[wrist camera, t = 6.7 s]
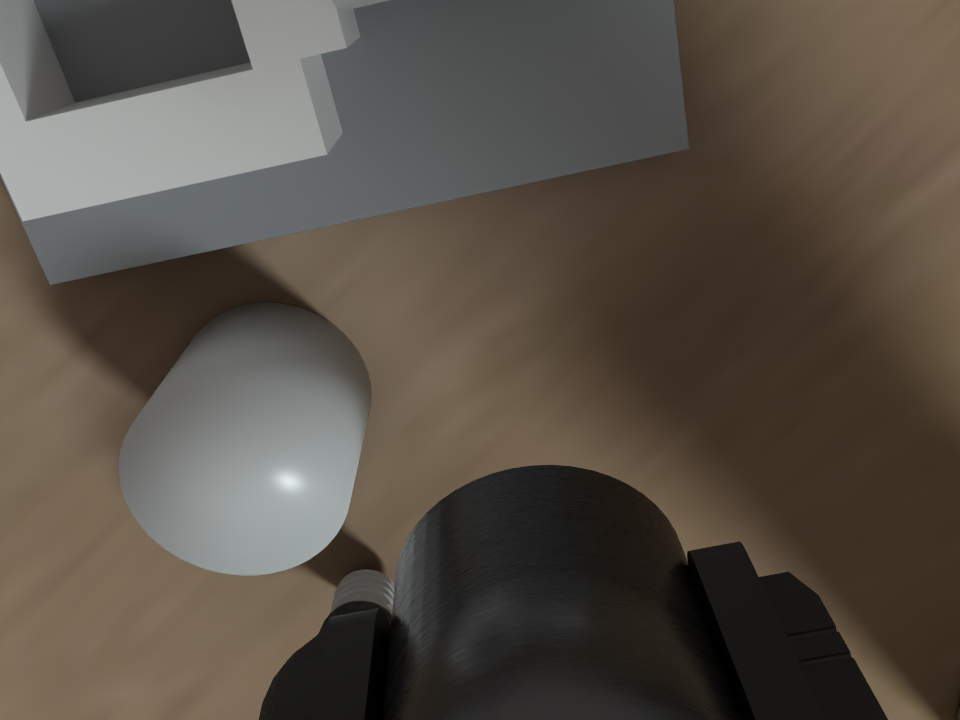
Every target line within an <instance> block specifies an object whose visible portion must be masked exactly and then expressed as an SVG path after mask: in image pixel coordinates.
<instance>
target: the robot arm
mask: <svg viewBox="0 0 960 720" xmlns="http://www.w3.org/2000/svg"><path fill="white" fill-rule="evenodd" d="M687 559H688V566H689V569H690V571H691V574H692V577H693V579H694V582H695V585H696V587H697V590H698V593H699V595H700V598H701V601H702V603H703V606H704V609H705V611H706V614H707V617H708V619H709V622H710V624H711V627H712V630H713V632H714V635H715V638H716V640H717V643H718V646H719V648H720V651H721V654H722V656H723V659H724V662H725V664H726V667H727V670H728V672H729V675H730V677H731V680H732V683H733V685H734V688H735V691H736V693H737V696H738V699H739V701H740V704H741V707H742V709H743V712H744V715H745V717H746V720H888V719H887V717H886V715H885V713H884V712H883V710H882V708H881V706H880V704H879V703H878V701H877V699H876V697H875V696H874V694H873V692H872V690H871V688H870V687H869V685H868V683H867V681H866V679H865V678H864V676H863V674H862V672H861V670H860V669H859V667H858V665H857V663H856V661H855V660H854V658H852V657H851V655H850V651H849V649H848V647H847V645H846V644H845V642H844V640H843V638H842V636H841V635H840V633H839V632H837V630H836V626H835V624H834V622H833V620H832V618H831V617H830V615H829V613H828V611H827V610H826V608H825V606H824V604H823V602H822V601H821V599H820V597H819V595H817V594H816V593H815V592H814V591H812V590H811V589H810V588H809V587H807V586H806V585H805V584H803V583H802V582H801V581H800V580H798V579H797V578H796V577H794V576H793V575H792V574H791V573H789V572H785V573H779V574H774V575H768V576H763V577H758V575H757V573H756V571H755V569H754V567H753V565H752V562H751V560H750V558H749V556H748V554H747V552H746V550H745V548H744V546H743V545H742V543H741V542H734V543H729V544H723V545H718V546H713V547H707V548H702V549H697V550H691V551H688V553H687ZM390 630H391V627H390V625H389V622H388V619H387V616H386V614H385V612H384V611H383V609H382V608H377V609H371V610H366V611H361V612H355V613H350V614H345V615H339V616H334V617H331V618H330V619H329V621H328V623H327V628H326V633H325V639H324V644H323V650H322V655H321V657H318V658H312V659H307V660H301V661H298V663H297V664H296V666H295V667H294V669H293V670H292V672H291V673H290V675H289V676H288V678H287V679H286V681H285V682H284V684H283V685H282V687H281V688H280V690H279V691H278V693H277V698H276V702H275V706H274V711H273V715H272V719H271V720H382V718H383V707H384V696H385V685H386V674H387V663H388V652H389V641H390ZM957 720H960V707H959V713H958V718H957Z"/></svg>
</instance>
